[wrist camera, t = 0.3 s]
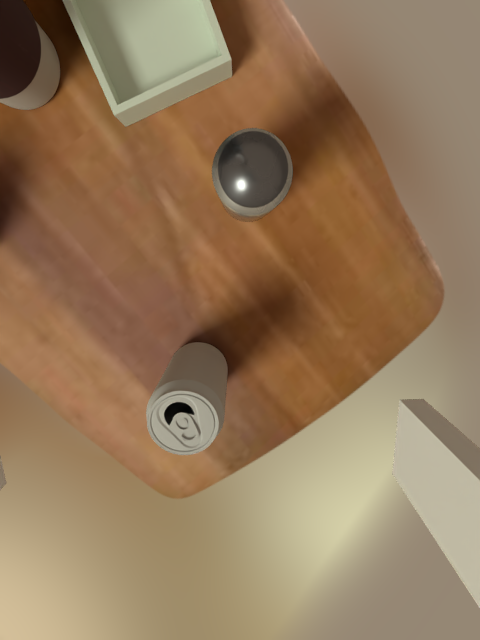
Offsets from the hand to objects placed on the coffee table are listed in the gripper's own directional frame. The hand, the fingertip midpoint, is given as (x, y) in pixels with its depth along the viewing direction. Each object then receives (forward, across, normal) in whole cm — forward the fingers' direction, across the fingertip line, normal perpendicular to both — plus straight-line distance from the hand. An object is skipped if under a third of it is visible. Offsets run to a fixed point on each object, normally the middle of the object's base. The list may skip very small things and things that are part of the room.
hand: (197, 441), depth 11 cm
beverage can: (+26, -3, -8) cm, 27 cm away
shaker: (+26, +3, +11) cm, 28 cm away
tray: (+26, -6, +24) cm, 36 cm away
